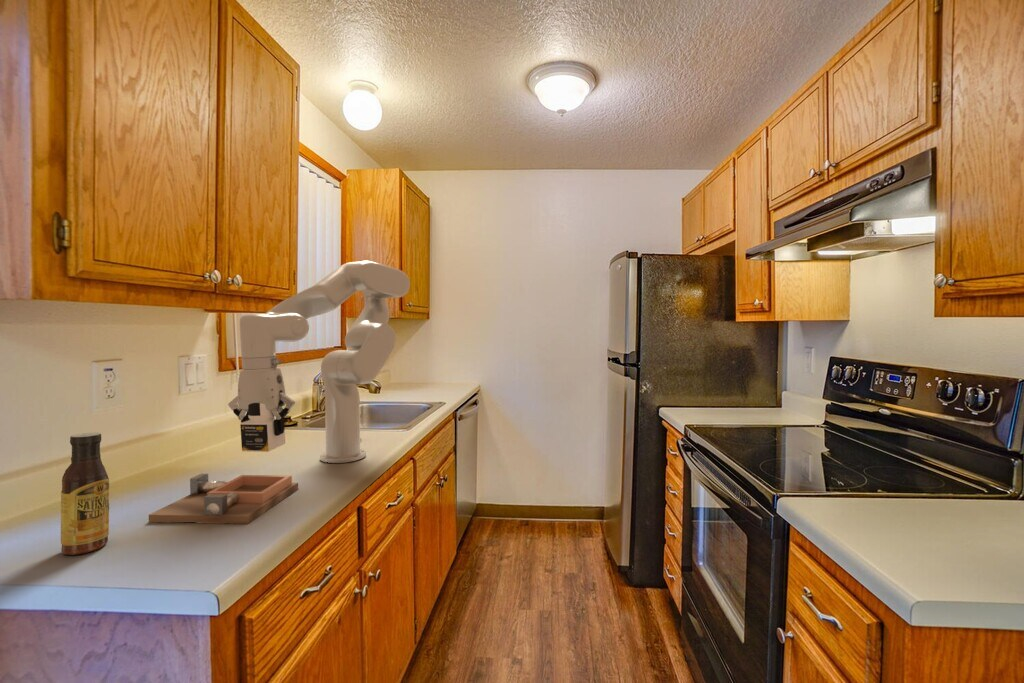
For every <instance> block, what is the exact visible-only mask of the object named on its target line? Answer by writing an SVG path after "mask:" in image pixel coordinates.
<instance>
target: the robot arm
mask: <svg viewBox="0 0 1024 683" xmlns="http://www.w3.org/2000/svg"><path fill="white" fill-rule="evenodd" d="M410 281H411V280H410V279H409V277H408V275H407V274H406V273H405V272H404V271H403V270H401V269H398V268H395V267H392V266H388V265H386V264H383V263H378V262H375V261H371V260H361V261H350V262H346V263H343V264H341V265H340V266H339V267H337V268H336V269H334V270H333V271H332V272H330V273H329V274H328V275H326V276H325V277H324V278H322V279H321V280H319V281H318V282H316V283H315V284H313V285H312V286H310V287H308V288H306V289H304V290H302V291H300V292H298V293H297V294H294V295H291V296H290V297H288V298H286V299H284V300H282V301H281V302H278V304H276V305H275V306H274V307H272V308H271V309H269V310H268V311H267V312H265V313H262V314H261V313H259V314H258V313H256V314H244V315H242V316H240V318H239V334H240V350H241V351H240V352H241V353H240V354H241V355H240V356H241V368H242V369H241V370H240V371H239V375H238V381H237V382H238V383H237V396H235V397H234V398H233V399H232V400H230V401H229V403H228V404H227V405H228V407H229V408H230V409H231V411H233V414H234V415H236V417H237V419H238V420H239V421H240V424H241V423H242V422H245V421H248V420H250V418H249V417H248V405H249V404H251V403H262V404H264V405H265V407H266V409H267V410H271V411H272V413H273V414H274V416H275V417H276V419H275V420H274V433H275V436H278V435H280V434H282V433H284V430H285V429H286V428H285V424H286V423H285V418H286V417H287V415H288V414H289V413H290V412H291V410H292V408H293V407H294V405H295V404H296V401H295V400H293V399H292V398H291V397H289V396H288V395H287V394H286V388H285V382H284V377H283V374H282V370H281V368H279V367H278V365H281V364H282V359H280V358H278V357H277V354H276V352H277V351H276V350H277V349H276V342H281V343H282V342H283V343H294V342H298V341H301V340H303V339H304V338H306V336H307V335H308V334H309V330H310V323H309V322H308V320H307V319H309V318H313V317H317V316H321V315H324V314H325V315H326V314H327V313H330V312H332V311H334V310H336V309H337V308H338V307H339V306H341V305H342V304H343V303H344V302H345V301H346V300H348V299H349V298H350V297H352V296H353V295H354V294H355V293H357V292H360V291H361V292H362V296H363V301H364V304H363V305H364V306H363V309H362V310H361V312H360V314H359V316H358V317H357V318H356V319H355V321H354V322H353V323H352V324H351V327H350V328H349V329H348V331H347V333H346V335H345V338H344V345H345V348H347V349H348V350H347V349H338V350H333V351H329V352H328V353H327V354H326V355H325V356H324V357H323V358H322V361H321V363H320V364H321V365H320V371H321V378H322V381H323V386H324V411H325V412H324V414H325V416H324V417H325V418H324V419H325V423H324V424H325V426H324V427H325V452H322V453H321V454H320V455H319V456H320V457H319V460H320V461H321V462H323V463H327V462H328V464H329V463H330V464H343V463H344V464H345V463H350V462H356V461H359V460H361V459H363V458H365V457H366V455H367V453H366V450H365V449H361V443H362V442H363V439H362V438H361V424H360V423H361V417H360V409H361V408H360V407H361V406H360V403H361V402H360V393H359V389H358V386H357V385H366V384H371V382H372V381H374V380H375V379H376V377H378V375H379V373H380V372H381V370H382V369H383V367H384V365H385V364H386V362H387V360H388V359H389V357H390V356H391V354H392V352H393V351H394V348H395V345H396V339H397V338H396V332H395V330H394V328H393V327H392V326H391V325H389V324H388V322H389V320H390V315H391V314H390V313H391V312H390V309H389V306H388V302H387V299H394V298H395V299H397V298H402V297H404V296H406V295H407V293H409V291H410V288H411V287H410V286H411V282H410ZM277 367H278V368H277ZM283 407H284V408H283ZM285 431H286V430H285Z"/></svg>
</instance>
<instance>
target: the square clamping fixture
mask: <svg viewBox="0 0 1024 683" xmlns="http://www.w3.org/2000/svg"><path fill="white" fill-rule="evenodd" d="M292 480H293V479H292V475H275V474H274V475H267V474H265V475H261V474H260V475H258V474H256V475H255V474H248V475H247V474H241V475H240V476H237V477H235V478H233V479H231V480H230V481H225V480H223V481H221V480H218V481H215V480H214V481H213V480H209V473H199V474H197V475H195V476H192V477H191V478H189V488H190V490H189V491H190V492H189V493H190V494H188V495H186V496H184V497H182V498H180V499H179V500H176V501H173V502H172V503H169V504H168V505H166V506H164V507H162V508H160V509H157V510H155V511H154V512H152V513H149V514H148V523H156V522H201V523H200V524H224V523H230V524H234V523H236V525H237V524H239V525H240V524H241V525H248V524H250V523H251V522H253V521H254V520H255V518H256V519H257V518H258V517H260V516H262V515H263V514H265V513H266V512H267V511H269V510H270V509H272V508H273V507H274V506H276V505H278V504H279V503H280V502H281V500H282V501H283V500H285V499H286V498H287V497H289V496H290V495H292V494H293V493H294V491H295V490H296V491H297V490H298V489H299V483H298V482H292ZM296 491H295V492H296ZM291 493H292V494H291ZM288 495H289V496H288ZM285 497H286V498H285ZM279 501H280V502H279ZM278 502H279V503H278ZM275 504H276V505H275ZM272 506H273V507H272ZM269 508H270V509H269ZM268 509H269V510H268ZM266 510H267V511H266ZM265 511H266V512H265ZM262 513H263V514H262ZM259 515H260V516H259ZM252 520H253V521H252ZM234 525H235V524H234Z"/></svg>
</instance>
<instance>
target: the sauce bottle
mask: <svg viewBox="0 0 1024 683" xmlns="http://www.w3.org/2000/svg"><path fill="white" fill-rule="evenodd" d="M69 439H70V440H69V444H70V445H71V457H70V460H71V463H70V464H69V465H68V467H67V468H66V470H65V471H64V473H63V475H62V479H61V492H60V496H61V497H60V545H61V553H62V554H63V555H66V556H77V555H82V554H87V553H91V552H94V551H96V550H100V549H101V548H102V547H104V546H105V545H107V544H108V541H109V537H108V536H109V534H110V478H109V476H108V473H107V471H106V467H105V465H104V464H103V462H102V458H101V457H102V456H101V442H102V433H101V432H85V433H76V434H72V435H70V438H69Z"/></svg>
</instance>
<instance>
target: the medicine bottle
mask: <svg viewBox="0 0 1024 683" xmlns="http://www.w3.org/2000/svg"><path fill="white" fill-rule="evenodd" d="M248 417H249V418H250V420H248V421H245V422H242V423H241V422H240V427H239V428H240V440H241V441H240V442H241V452H249V453H250V452H251V453H252V452H253V453H255V452H256V453H257V452H259V453H260V452H261V453H268V452H270V451H273V450H275V449H277V448H280V447H282V446H283V445H285V444H286V432H285V431H286V430H284V433H282V434H280V435H278V436H275V433H274V420H275V419H276V417H275V416H274V414H273V413H272V411H271V410H267V409H266V407H265V405H264V404H262V403H251V404H249V405H248Z"/></svg>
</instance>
